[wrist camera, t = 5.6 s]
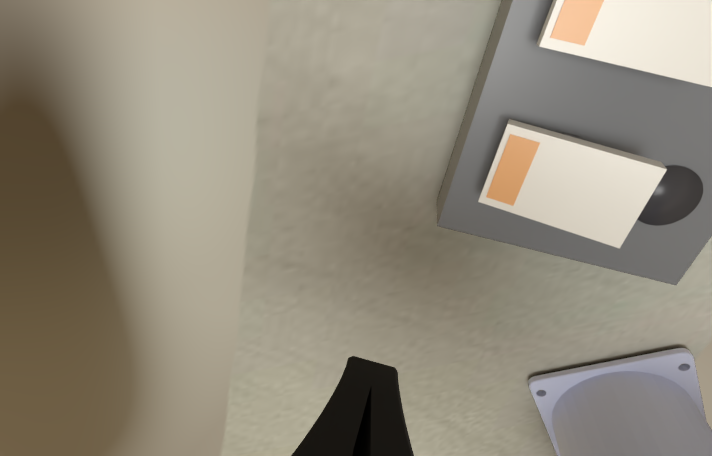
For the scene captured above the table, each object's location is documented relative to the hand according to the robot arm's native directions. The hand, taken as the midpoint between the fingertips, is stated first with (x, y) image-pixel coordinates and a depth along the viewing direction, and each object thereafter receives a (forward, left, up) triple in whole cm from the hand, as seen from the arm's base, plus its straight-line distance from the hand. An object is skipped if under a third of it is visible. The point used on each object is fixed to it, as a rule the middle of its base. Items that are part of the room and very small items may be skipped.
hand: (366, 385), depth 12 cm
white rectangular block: (+1, -7, -6) cm, 10 cm away
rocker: (+5, -10, -6) cm, 13 cm away
